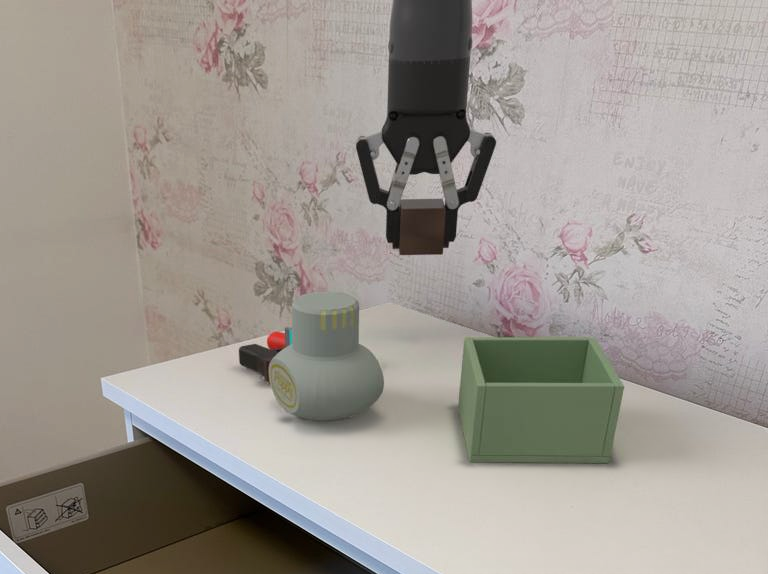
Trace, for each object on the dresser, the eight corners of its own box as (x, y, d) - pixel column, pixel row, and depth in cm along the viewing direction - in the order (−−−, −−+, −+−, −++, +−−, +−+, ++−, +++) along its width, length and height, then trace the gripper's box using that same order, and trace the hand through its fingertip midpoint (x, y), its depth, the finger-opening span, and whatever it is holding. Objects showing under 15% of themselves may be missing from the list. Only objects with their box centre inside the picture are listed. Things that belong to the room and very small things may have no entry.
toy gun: (373, 368, 96) (374, 320, 93) (265, 390, 92) (264, 340, 89) (329, 340, 103) (329, 294, 100) (227, 359, 99) (224, 312, 96)
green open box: (582, 408, 87) (595, 337, 83) (609, 463, 78) (624, 386, 74) (457, 407, 87) (464, 337, 84) (469, 462, 78) (477, 385, 74)
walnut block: (439, 243, 99) (442, 198, 97) (442, 254, 96) (445, 208, 93) (397, 244, 100) (399, 199, 97) (399, 255, 96) (401, 209, 93)
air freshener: (392, 423, 85) (397, 311, 79) (307, 440, 82) (307, 325, 76) (340, 382, 93) (341, 278, 87) (262, 396, 90) (258, 290, 85)
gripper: (502, 46, 90) (485, 236, 100) (352, 51, 91) (350, 238, 101) (512, 54, 84) (493, 255, 94) (352, 59, 85) (350, 257, 95)
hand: (419, 245), depth 98 cm, fingers closed on walnut block, 4 cm apart
